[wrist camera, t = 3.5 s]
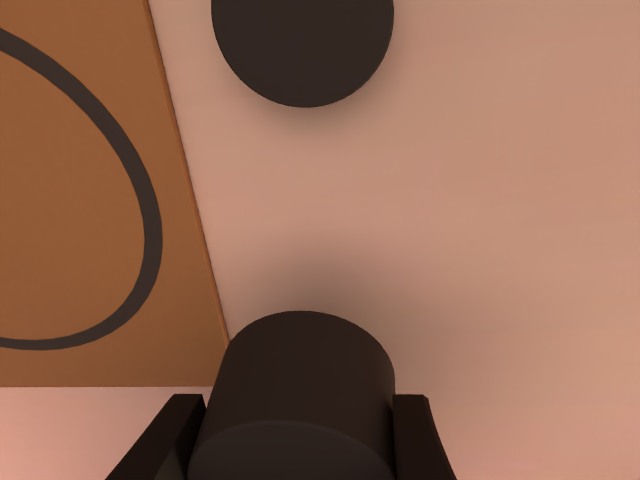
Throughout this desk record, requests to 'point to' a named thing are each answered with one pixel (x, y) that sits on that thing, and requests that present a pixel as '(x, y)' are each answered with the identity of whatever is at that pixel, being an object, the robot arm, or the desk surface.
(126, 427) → the desk surface
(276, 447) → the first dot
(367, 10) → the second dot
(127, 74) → the drawing board
